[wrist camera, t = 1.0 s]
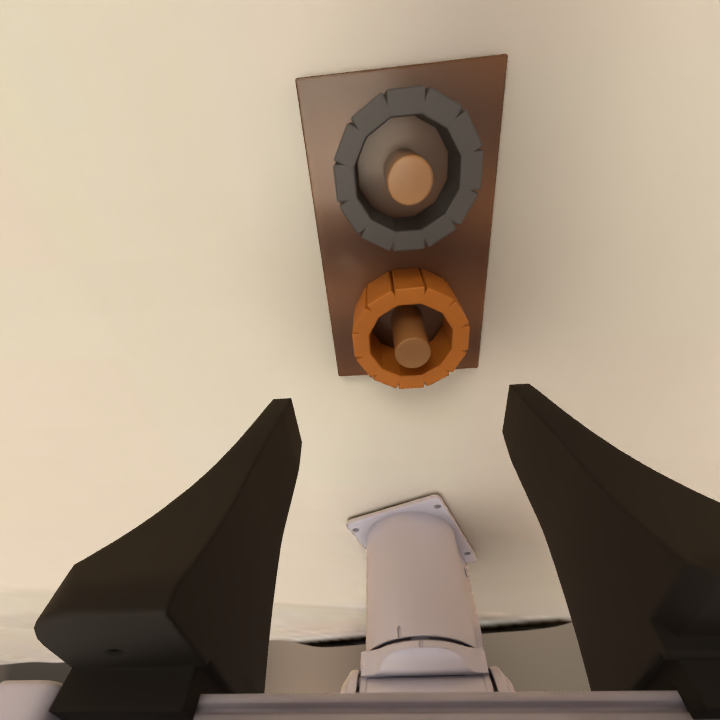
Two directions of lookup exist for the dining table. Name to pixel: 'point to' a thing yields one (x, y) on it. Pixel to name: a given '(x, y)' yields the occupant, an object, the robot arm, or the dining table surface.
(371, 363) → the amber tape
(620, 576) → the robot arm
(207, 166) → the dining table surface
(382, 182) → the rack
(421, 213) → the ring
